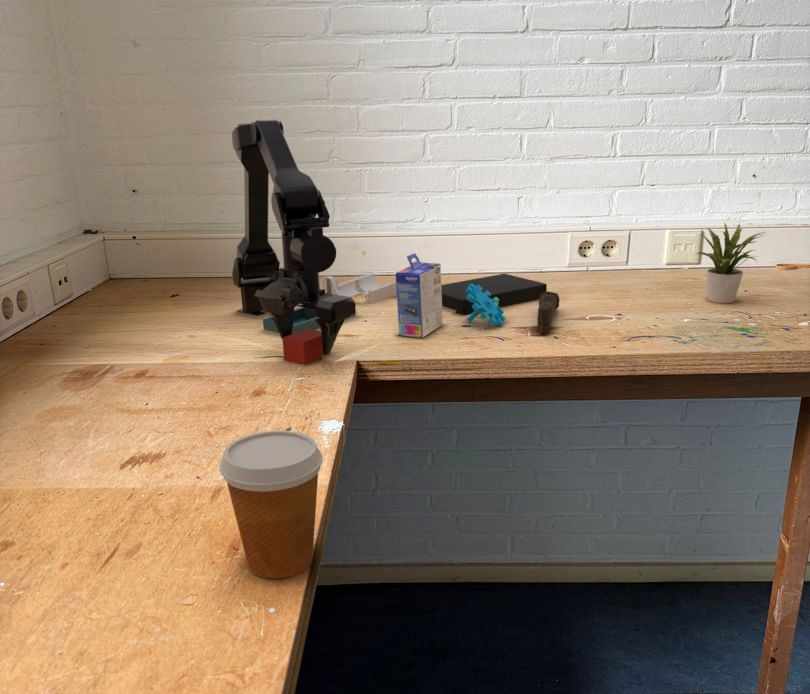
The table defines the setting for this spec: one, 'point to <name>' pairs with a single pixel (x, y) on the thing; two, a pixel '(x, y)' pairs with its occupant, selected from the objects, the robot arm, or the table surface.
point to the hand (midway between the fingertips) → (307, 350)
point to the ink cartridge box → (419, 298)
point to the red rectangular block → (303, 346)
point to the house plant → (726, 266)
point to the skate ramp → (360, 287)
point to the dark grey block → (311, 312)
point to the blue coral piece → (484, 305)
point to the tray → (295, 322)
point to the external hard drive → (492, 291)
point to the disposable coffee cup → (274, 499)
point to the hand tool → (547, 310)
